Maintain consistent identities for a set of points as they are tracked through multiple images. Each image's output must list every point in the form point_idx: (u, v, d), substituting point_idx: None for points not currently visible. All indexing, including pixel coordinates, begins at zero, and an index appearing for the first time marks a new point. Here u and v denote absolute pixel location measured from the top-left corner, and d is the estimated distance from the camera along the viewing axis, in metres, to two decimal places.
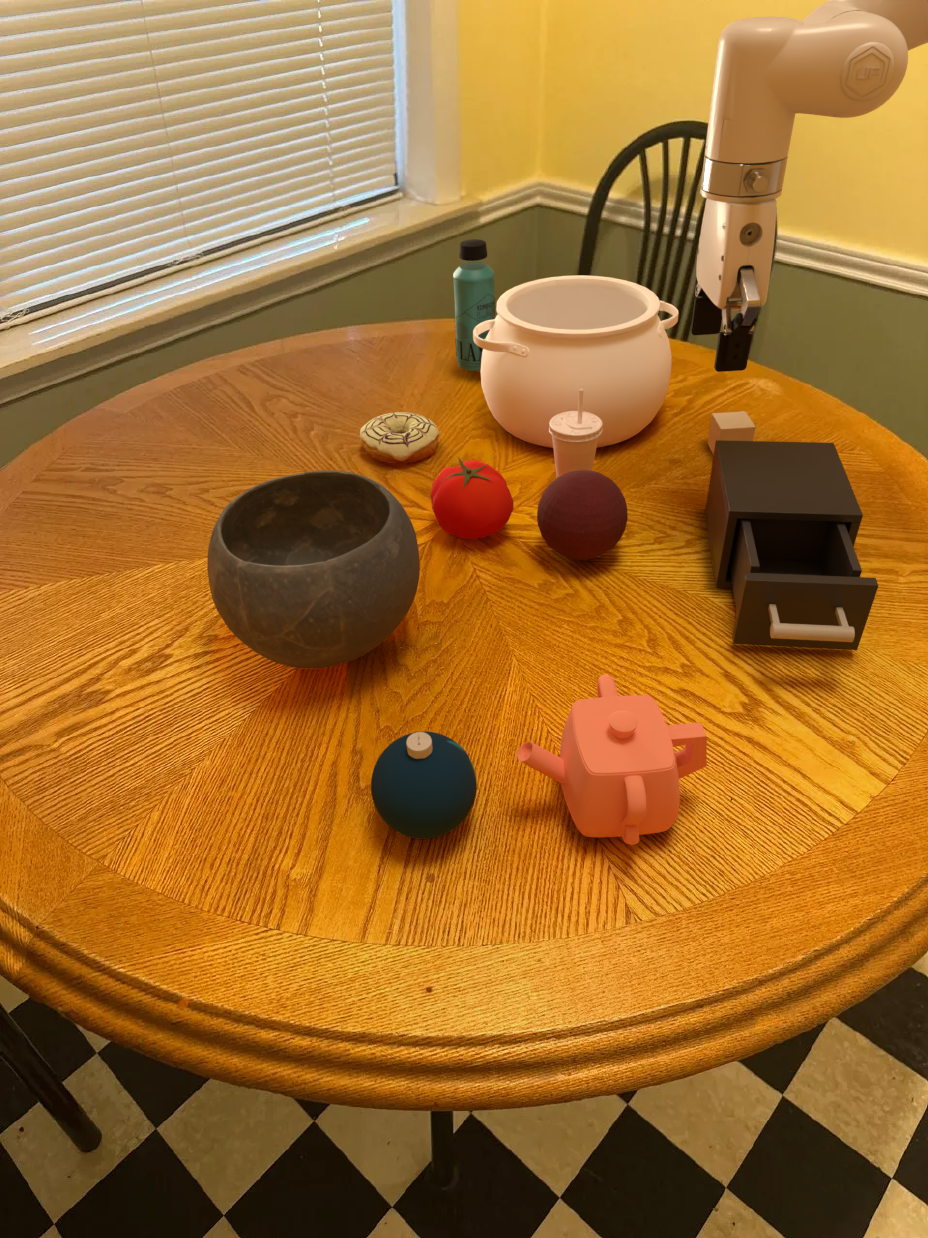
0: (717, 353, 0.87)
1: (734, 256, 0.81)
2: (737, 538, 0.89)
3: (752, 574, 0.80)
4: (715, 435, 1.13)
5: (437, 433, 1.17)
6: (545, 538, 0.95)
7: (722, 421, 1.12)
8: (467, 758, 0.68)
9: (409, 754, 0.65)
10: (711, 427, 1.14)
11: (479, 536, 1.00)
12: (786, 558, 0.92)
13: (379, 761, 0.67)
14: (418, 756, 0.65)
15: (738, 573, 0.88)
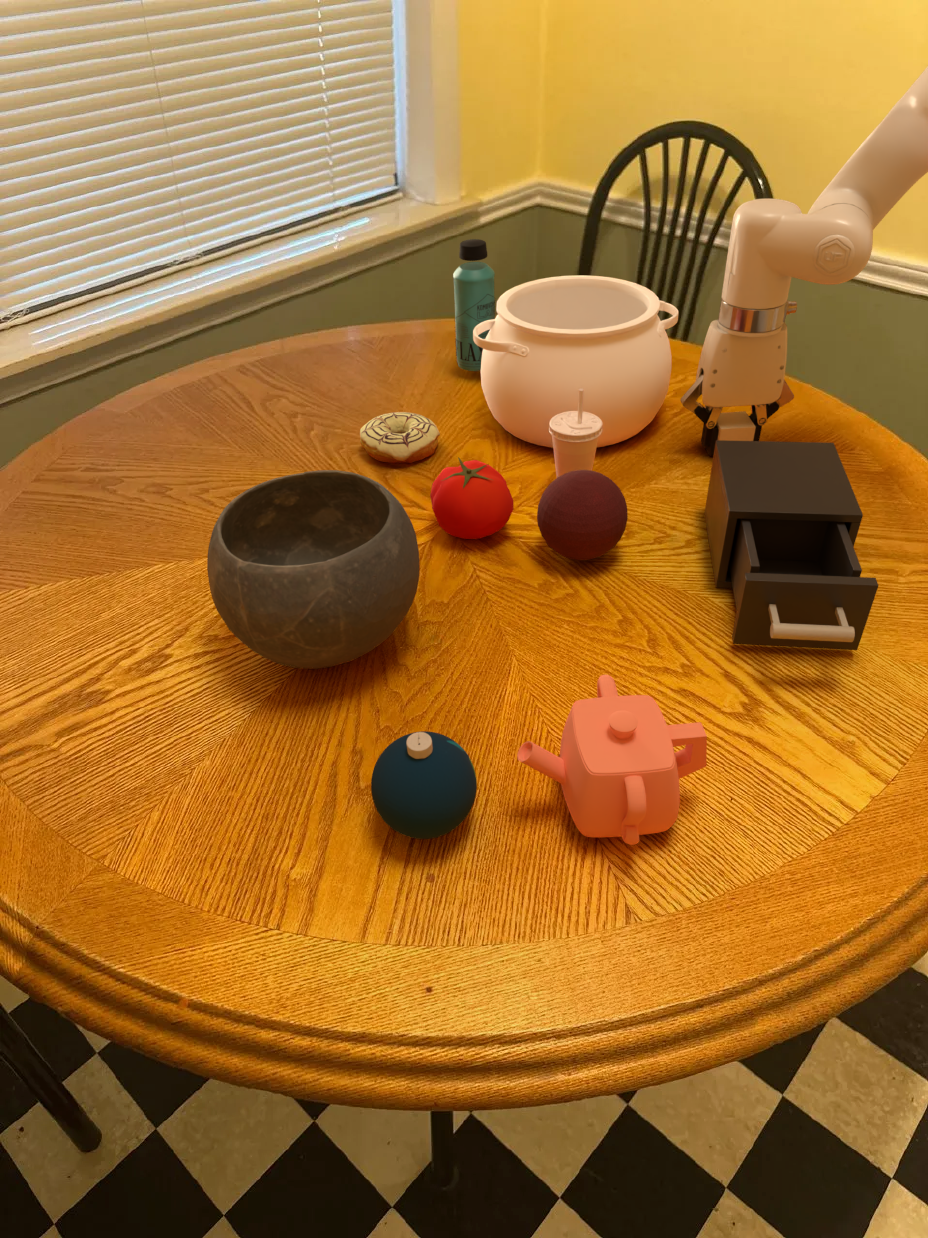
0: (755, 440, 1.13)
1: None
2: (737, 538, 0.89)
3: (752, 574, 0.80)
4: None
5: (437, 433, 1.17)
6: (545, 538, 0.95)
7: (722, 421, 1.12)
8: (467, 758, 0.68)
9: (409, 754, 0.65)
10: None
11: (479, 536, 1.00)
12: (786, 558, 0.92)
13: (379, 761, 0.67)
14: (418, 756, 0.65)
15: (738, 573, 0.88)
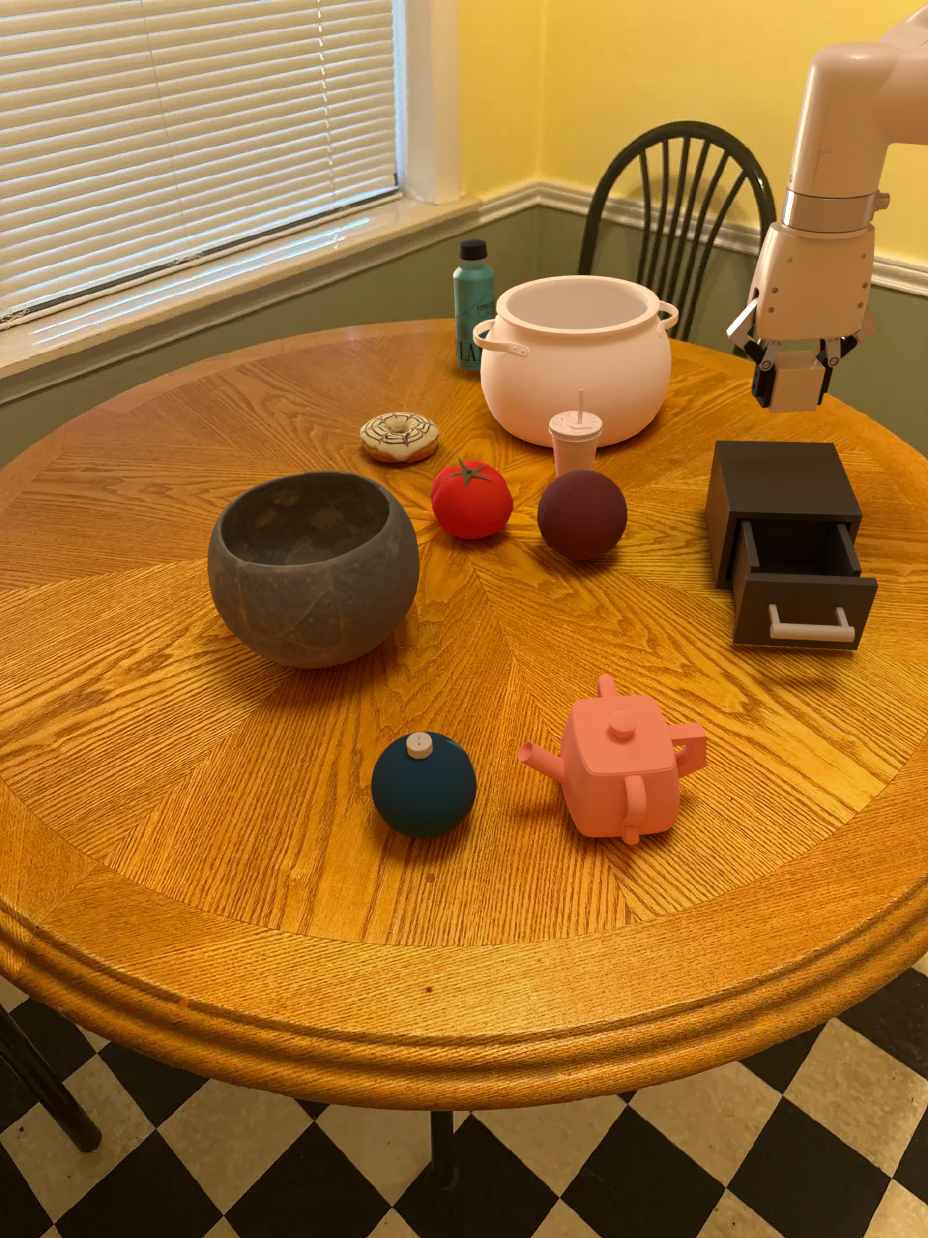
0: (823, 388, 0.86)
1: None
2: (737, 538, 0.89)
3: (752, 574, 0.80)
4: None
5: (437, 433, 1.17)
6: (545, 538, 0.95)
7: (780, 362, 0.85)
8: (467, 758, 0.68)
9: (409, 754, 0.65)
10: None
11: (479, 536, 1.00)
12: (786, 558, 0.92)
13: (379, 761, 0.67)
14: (418, 756, 0.65)
15: (738, 573, 0.88)
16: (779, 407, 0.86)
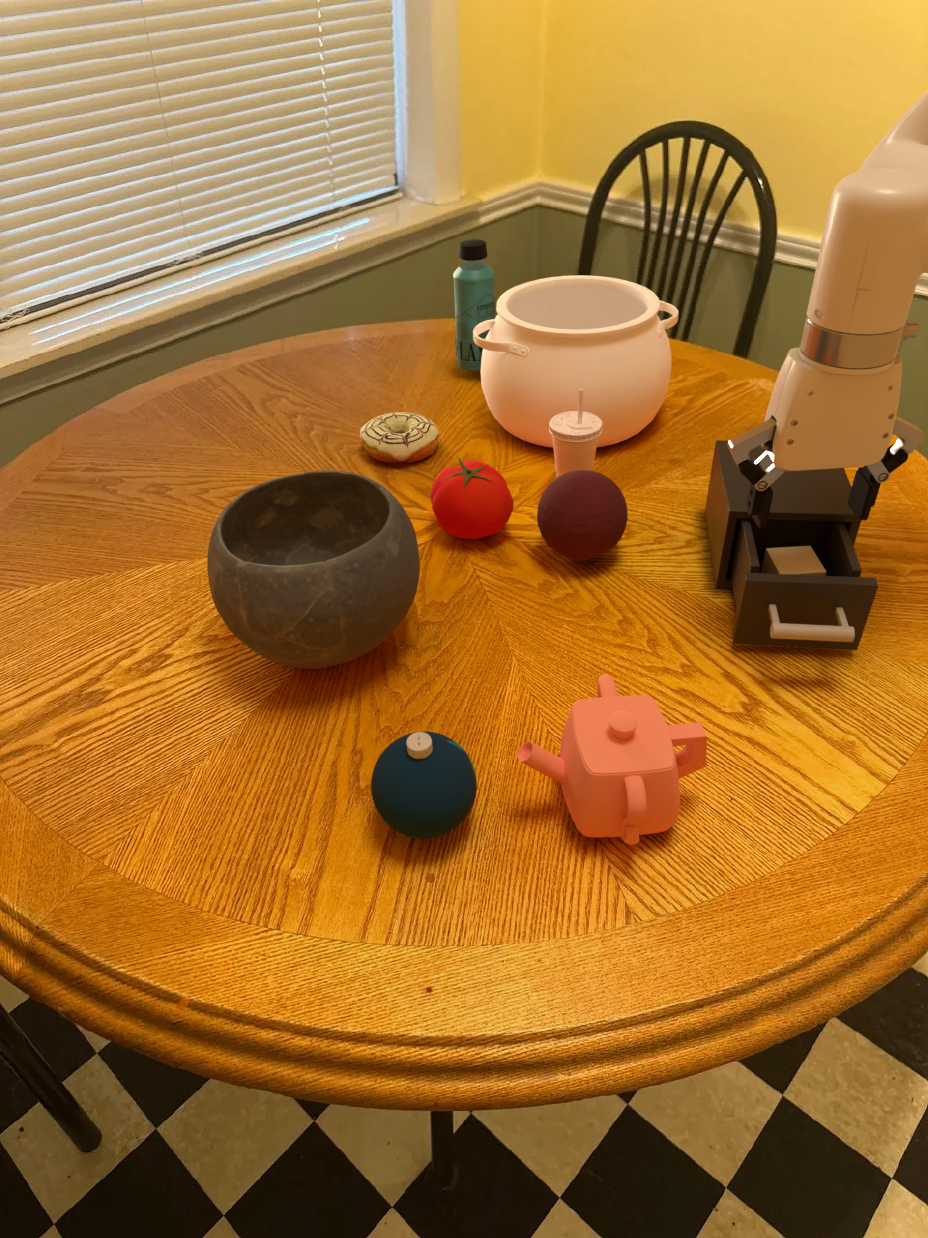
0: (870, 504, 0.79)
1: None
2: (737, 538, 0.89)
3: (752, 574, 0.80)
4: None
5: (437, 433, 1.17)
6: (545, 538, 0.95)
7: (781, 562, 0.85)
8: (467, 758, 0.68)
9: (409, 754, 0.65)
10: (765, 566, 0.87)
11: (479, 536, 1.00)
12: None
13: (379, 761, 0.67)
14: (418, 756, 0.65)
15: (738, 573, 0.88)
16: None
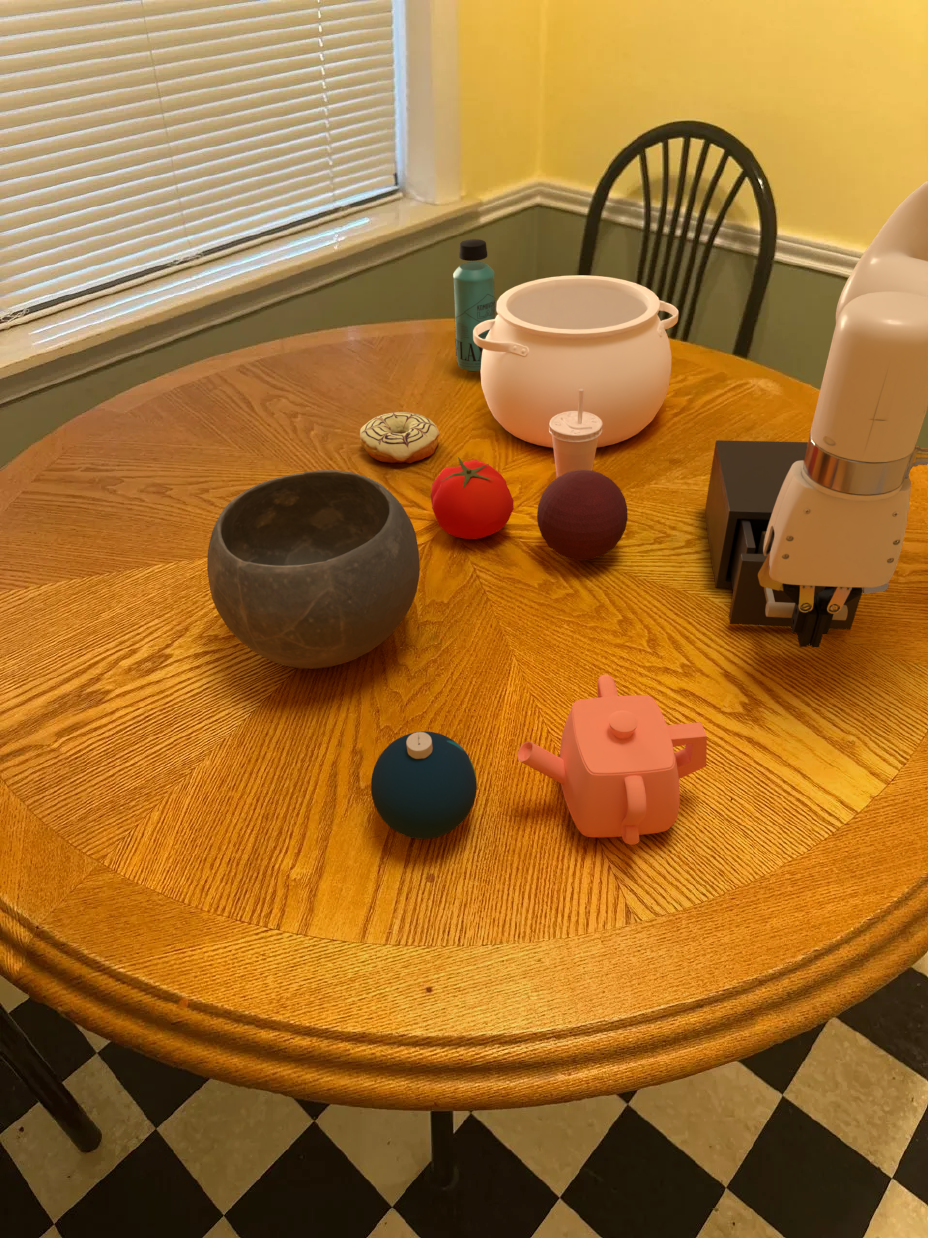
0: (821, 633, 0.77)
1: None
2: None
3: (748, 555, 0.82)
4: None
5: (437, 433, 1.17)
6: (545, 538, 0.95)
7: None
8: (467, 758, 0.68)
9: (409, 754, 0.65)
10: (761, 548, 0.89)
11: (479, 536, 1.00)
12: None
13: (379, 761, 0.67)
14: (418, 756, 0.65)
15: (735, 555, 0.90)
16: None
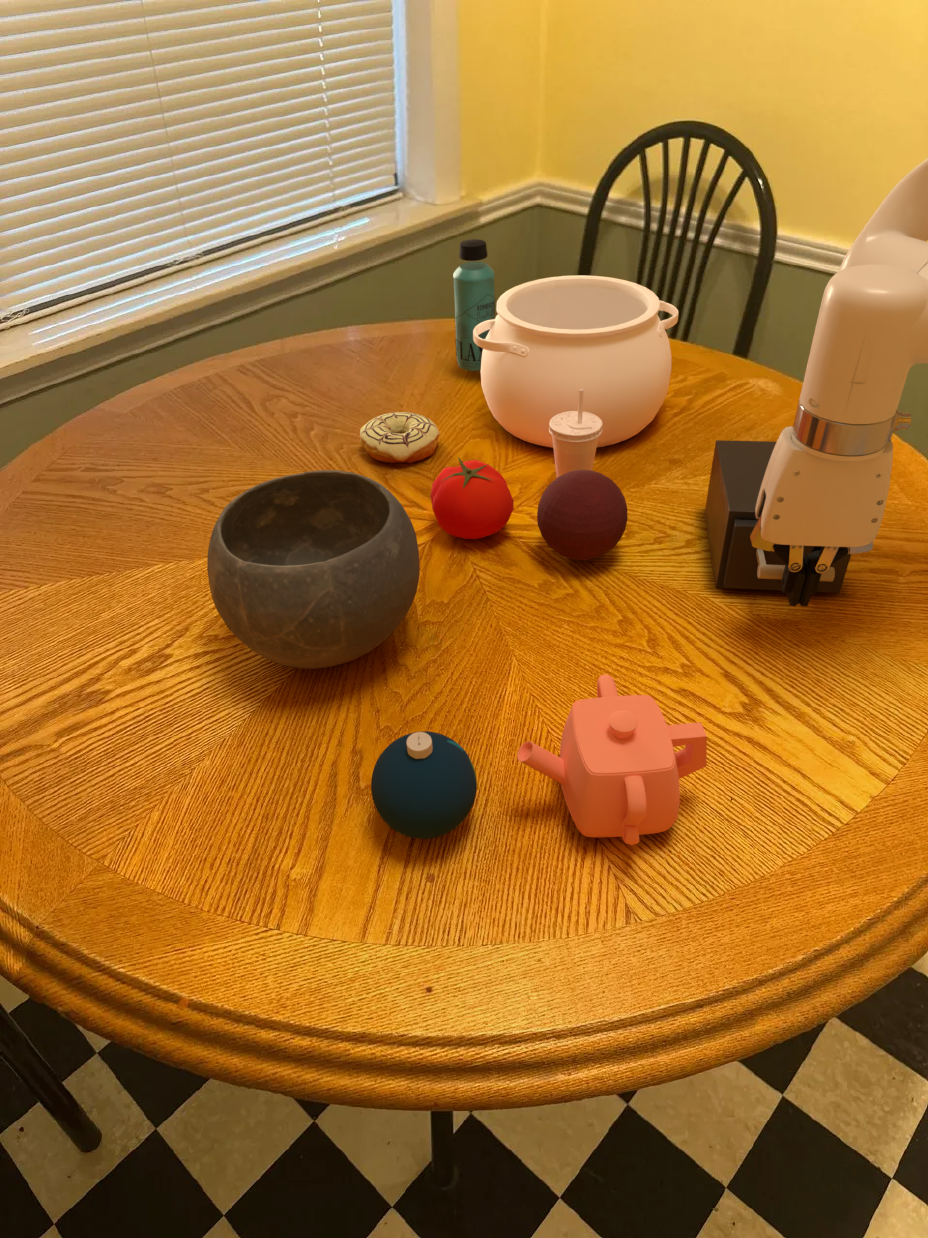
0: (810, 592, 0.81)
1: None
2: None
3: (741, 520, 0.87)
4: None
5: (437, 433, 1.17)
6: (545, 538, 0.95)
7: None
8: (467, 758, 0.68)
9: (409, 754, 0.65)
10: None
11: (479, 536, 1.00)
12: None
13: (379, 761, 0.67)
14: (418, 756, 0.65)
15: None
16: None
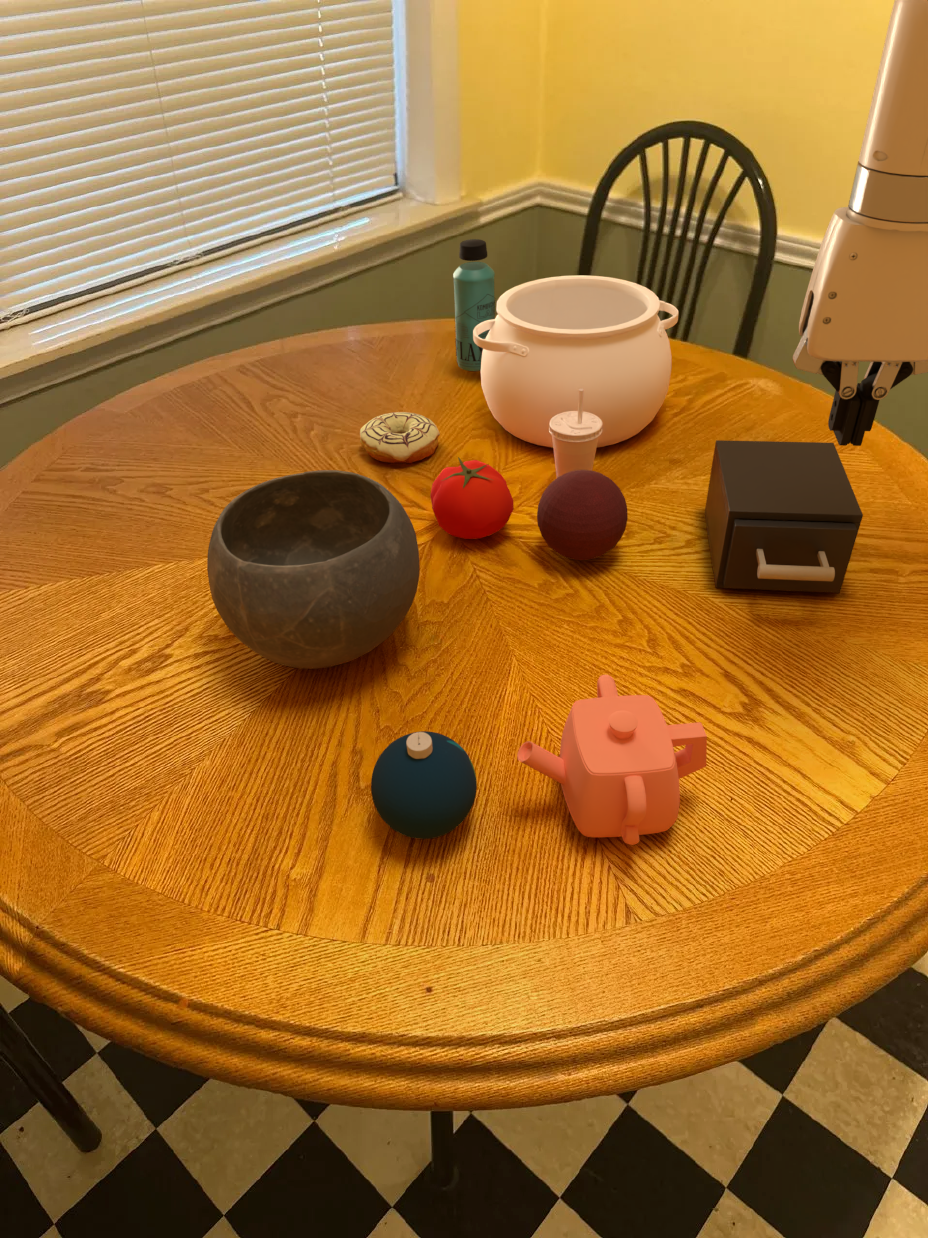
0: (864, 425, 0.68)
1: None
2: None
3: (741, 520, 0.87)
4: None
5: (437, 433, 1.17)
6: (545, 538, 0.95)
7: None
8: (467, 758, 0.68)
9: (409, 754, 0.65)
10: None
11: (479, 536, 1.00)
12: None
13: (379, 761, 0.67)
14: (418, 756, 0.65)
15: None
16: None
